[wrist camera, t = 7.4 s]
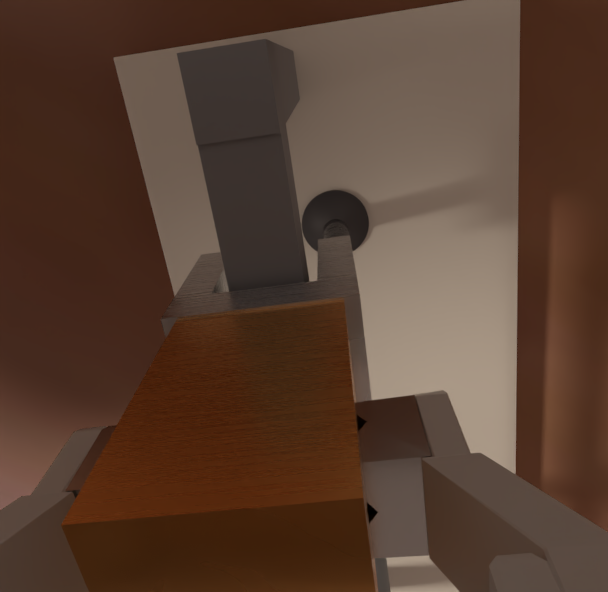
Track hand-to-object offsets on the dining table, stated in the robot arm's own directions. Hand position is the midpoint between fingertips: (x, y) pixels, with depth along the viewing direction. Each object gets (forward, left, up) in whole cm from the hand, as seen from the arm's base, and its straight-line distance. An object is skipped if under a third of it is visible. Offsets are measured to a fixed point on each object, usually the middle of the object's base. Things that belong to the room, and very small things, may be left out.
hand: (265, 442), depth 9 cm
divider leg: (0, 0, -12) cm, 12 cm away
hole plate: (+2, -7, -15) cm, 16 cm away
